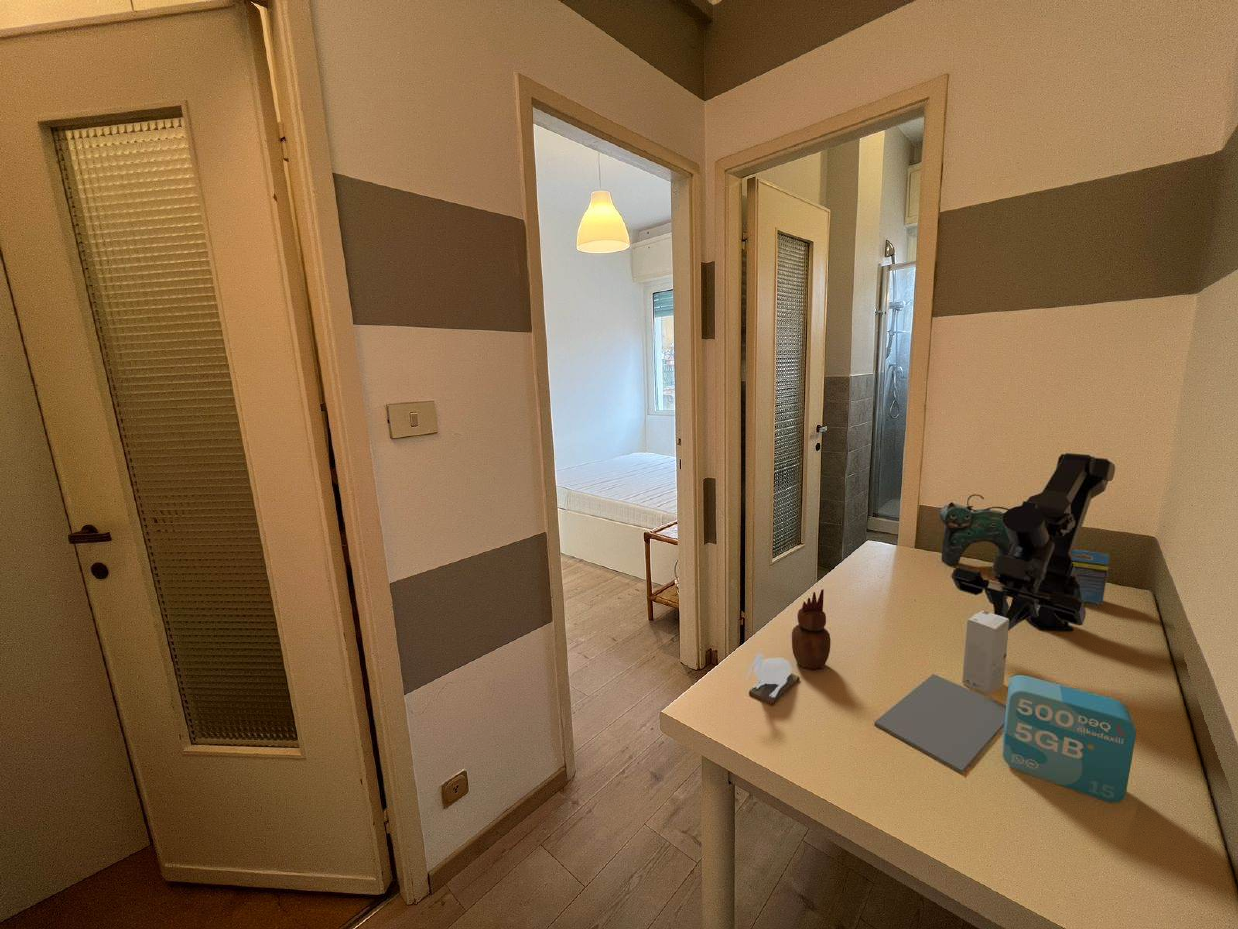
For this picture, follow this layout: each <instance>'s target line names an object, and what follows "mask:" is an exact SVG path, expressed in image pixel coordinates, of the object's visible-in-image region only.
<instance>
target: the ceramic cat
mask: <svg viewBox="0 0 1238 929" xmlns="http://www.w3.org/2000/svg"><path fill="white" fill-rule="evenodd" d="M976 496H978V497H979V498H981V499H982V500H984V499H985V498H984V497H983V496H982V495H980V494H977V493H976V494H970V495H969V497H968V498H967V502H966V503H967V505H966V506H963V505H961V504H957V503H954V502H952V501H951V502H950V503H948V504H946V505H944V506H943V507H941V510H940V513H939V516H940V517H939V518H940V520H941V522H942V523H943V524H944V525H945V530H944V533H943V538H942V548H941V561H942V563H944V564H945V565H946V566H947V567H948V566H952V567H953V566H954V567H957V566H958V567H959V565H960V560H961V558H962V556H963V553H964V552H965V550H967V548H969V547H970V546H971V545H972V544H977V543H980V542H981V543H982V542H988V543H991V544H993V545H995V547H997V549H998V555H1001V556H1006V555H1007V554H1008V555H1009V552H1010V550H1011V547H1012V545H1013V543H1012V542H1011V541H1010V540H1009V537H1008V534H1007V532H1006V529H1005V526H1004V523H1003V519H1002V518H1003V514H1004V513H1005V512H1002V511H1000V510H1001V509H1002V510H1006V511H1008V510H1009V509H1010V508H1008V507H1004V506H991V507H987V508H983V509H982V508H980V509H979V508H978V509H974V505H969V501H970V499H971V498H972V497H976ZM994 509H995V510H994ZM996 509H1000V510H996Z"/></svg>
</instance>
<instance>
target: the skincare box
mask: <svg viewBox="0 0 1238 929" xmlns="http://www.w3.org/2000/svg"><path fill="white" fill-rule="evenodd" d="M1008 627H1009V619H1008V618H1005V617H1002V616H999V615H996V614H994V613H992V612H989V611H986V610H981V611H980V612H978V613H975V614H973V615H972V616H971V617H970V618H968V619H967V621H966V633H965V644H964V646H965V647H964V657H963V667H962V679H961V680H962V681H961V683H962V684H963V685H964V686H966V687H969V688H971V689H973V690H975V691H976V692H977V691H978V693H981V694H985V696H986V695H987V696H990V695H992V694H993V693H995V692H997V690H998V689H1000V688H1001V687H1002V686H1003V685H1004V683H1005V672H1006V662H1007V651H1008V650H1007V649H1008V640H1009V639H1008V638H1009V631H1008Z"/></svg>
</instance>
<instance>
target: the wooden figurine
mask: <svg viewBox="0 0 1238 929" xmlns="http://www.w3.org/2000/svg"><path fill="white" fill-rule="evenodd" d="M824 591H825V590H824V588H821V590H820V593H819V596H818V598H817V595H816V592H815V591H813V592H812V598H810V597H807V601H806V602H805V601H803V603H802V606H801V608H800V609H798V611H797V614H796V615H797V623H798V624H796V626H794V627H793V629H792V630H791V649H792V654H793V656H794V659H795V661H796V663H797V664H798V665H799V666H801V667H803V668H806V669H811V670H812V669H813V670H817V669H820V668H823V667H824V666H825V665H826V663H827V661H828V659H829V657H830V651H831V645H832V644H831V642H832V640H831V635H830V632H829V631H828V629H826V628H825V627H826V625H827V624H826V623H827V616H826V613H825V612H824V593H825V592H824Z"/></svg>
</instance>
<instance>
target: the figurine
mask: <svg viewBox="0 0 1238 929" xmlns="http://www.w3.org/2000/svg"><path fill="white" fill-rule="evenodd" d="M753 660H754V661H753V662H752V664H751V666H750V667H749V669H748V671H747V672H748V673H747V675H746V682H748V679H749V676H750V673H751V671H752V669H753V668H754V669H753V670H754V671H753V672H754V675H755V677H756V678H757V680H758V681H759V682H758V683H755V684H754V685H752V688H751V689H749V691H748V695H749V696H750V697H753V698H754V699H757V700H759V701H761V702H763V703H765V704H767V705H769V706H771V707H774V705H775V704H776V703H778V701H780V700H781V699H782V698H783V697H784V696H785V695H786V694H787V693H788V692H790V690H791V689H792V688H793V687H795V685H797V683H799V682H800V676H799V675H796V674H795V673H793V669H792V665H791V663H790V662H789V661H788V660H787V659H785V658H783V657H770V658H764V656H763V654H762V653H757V654H756V655H755V659H753Z"/></svg>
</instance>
